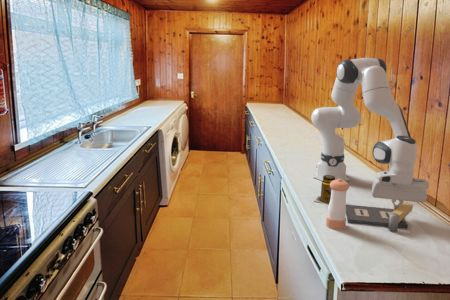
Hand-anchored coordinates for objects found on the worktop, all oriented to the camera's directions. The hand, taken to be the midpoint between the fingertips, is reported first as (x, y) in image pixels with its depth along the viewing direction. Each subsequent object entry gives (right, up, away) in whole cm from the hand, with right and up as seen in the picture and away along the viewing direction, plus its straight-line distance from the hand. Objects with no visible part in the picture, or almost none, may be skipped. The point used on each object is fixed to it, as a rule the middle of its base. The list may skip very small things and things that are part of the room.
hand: (396, 209), depth 152 cm
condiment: (-24, +1, +20) cm, 31 cm away
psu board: (-8, -4, +2) cm, 9 cm away
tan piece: (-1, -5, -4) cm, 6 cm away
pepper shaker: (-26, -6, -6) cm, 28 cm away
